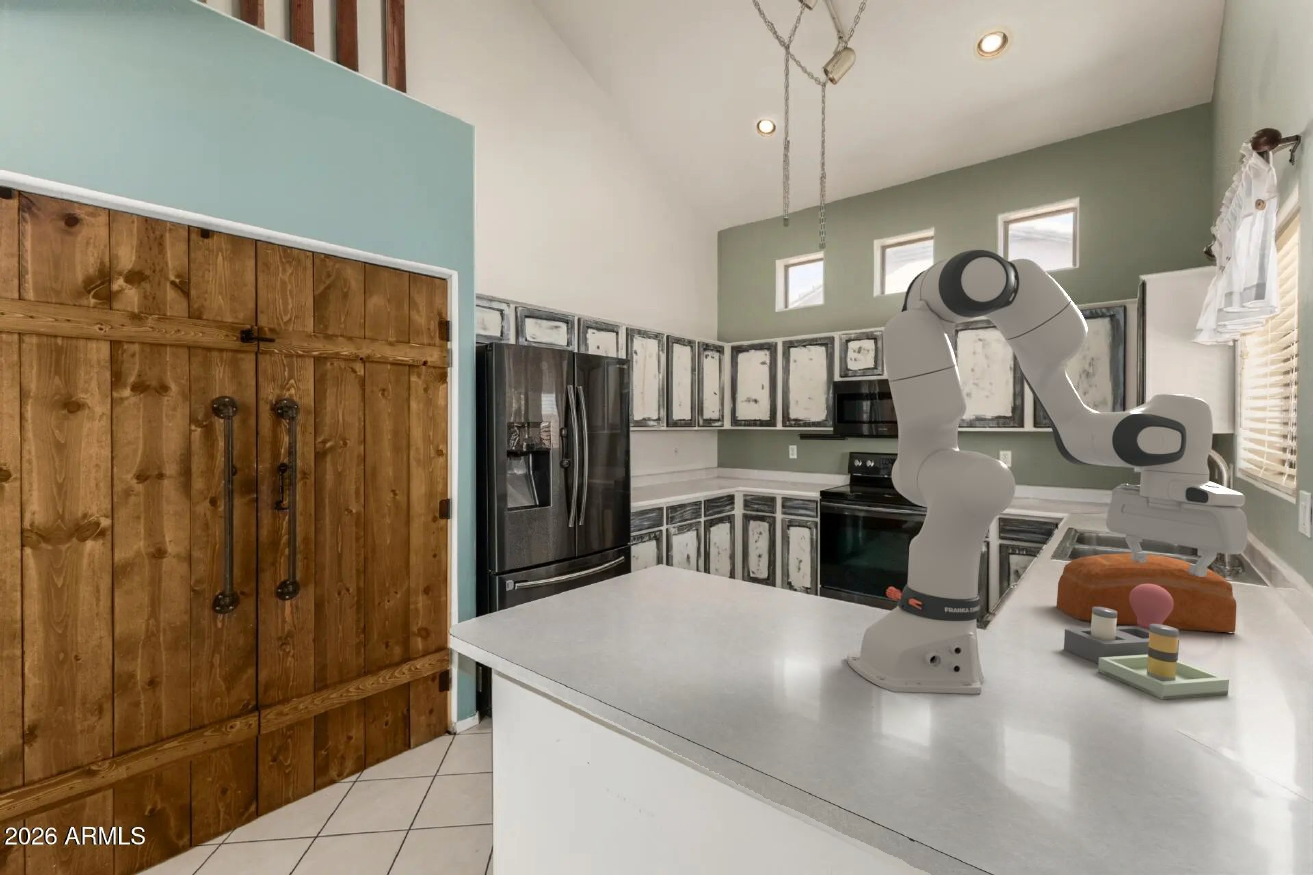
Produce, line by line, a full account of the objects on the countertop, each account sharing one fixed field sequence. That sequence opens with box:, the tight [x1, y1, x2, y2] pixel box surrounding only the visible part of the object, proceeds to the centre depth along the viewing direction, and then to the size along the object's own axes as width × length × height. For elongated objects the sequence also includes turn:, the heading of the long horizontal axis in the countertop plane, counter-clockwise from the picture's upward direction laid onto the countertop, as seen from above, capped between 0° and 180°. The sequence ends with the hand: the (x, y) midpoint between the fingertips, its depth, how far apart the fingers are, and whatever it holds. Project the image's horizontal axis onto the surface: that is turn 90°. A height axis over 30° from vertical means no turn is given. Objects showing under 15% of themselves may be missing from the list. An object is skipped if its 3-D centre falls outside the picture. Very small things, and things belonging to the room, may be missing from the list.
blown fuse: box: [1147, 624, 1180, 682], centre depth 102 cm, size 4×4×9 cm
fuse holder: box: [1063, 625, 1180, 665], centre depth 114 cm, size 18×8×4 cm, turn 103°
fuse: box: [1090, 607, 1117, 641], centre depth 113 cm, size 4×4×9 cm
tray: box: [1097, 654, 1230, 701], centre depth 102 cm, size 14×11×2 cm
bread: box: [1055, 552, 1237, 633], centre depth 138 cm, size 14×33×16 cm, turn 81°
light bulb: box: [1129, 584, 1174, 630], centre depth 123 cm, size 7×7×12 cm
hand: (1166, 568), depth 101 cm, fingers open, 8 cm apart
